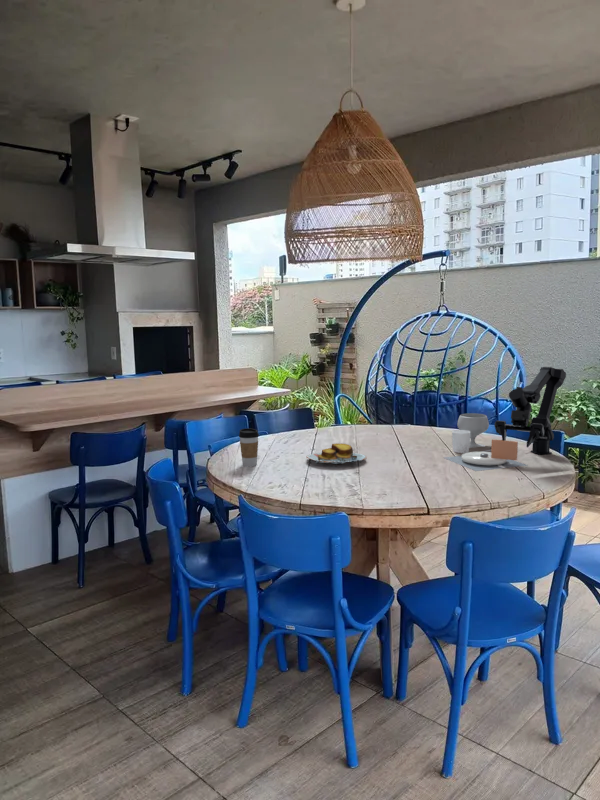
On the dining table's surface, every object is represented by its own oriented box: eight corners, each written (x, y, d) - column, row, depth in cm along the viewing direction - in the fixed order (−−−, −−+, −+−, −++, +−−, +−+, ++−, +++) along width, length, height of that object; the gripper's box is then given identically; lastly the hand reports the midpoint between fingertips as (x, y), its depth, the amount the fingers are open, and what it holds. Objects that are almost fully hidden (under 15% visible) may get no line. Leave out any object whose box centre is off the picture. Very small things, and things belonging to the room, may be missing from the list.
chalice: (465, 442, 294) (466, 411, 292) (493, 446, 285) (494, 414, 283) (451, 448, 284) (452, 416, 282) (480, 452, 275) (480, 419, 272)
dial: (489, 453, 264) (490, 433, 263) (518, 463, 246) (519, 441, 245) (453, 457, 258) (453, 436, 257) (480, 467, 240) (480, 445, 239)
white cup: (470, 456, 268) (471, 433, 266) (452, 455, 269) (452, 433, 268) (469, 452, 275) (469, 430, 274) (451, 451, 277) (451, 429, 275)
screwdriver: (500, 450, 278) (500, 444, 278) (505, 451, 276) (505, 445, 276) (478, 454, 271) (478, 448, 270) (483, 455, 268) (483, 449, 268)
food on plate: (295, 463, 261) (294, 448, 260) (329, 452, 281) (329, 438, 280) (344, 472, 246) (344, 456, 245) (377, 460, 265) (377, 445, 264)
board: (491, 455, 268) (491, 452, 268) (527, 468, 245) (527, 464, 245) (442, 460, 261) (442, 457, 260) (475, 474, 238) (475, 470, 238)
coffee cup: (250, 461, 265) (249, 427, 263) (263, 464, 259) (262, 429, 257) (235, 465, 259) (234, 430, 257) (248, 468, 253) (247, 432, 251)
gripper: (496, 401, 253) (488, 432, 246) (544, 404, 244) (537, 436, 236) (500, 417, 261) (492, 447, 253) (547, 420, 251) (540, 452, 244)
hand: (515, 445), depth 246 cm, fingers open, 9 cm apart
